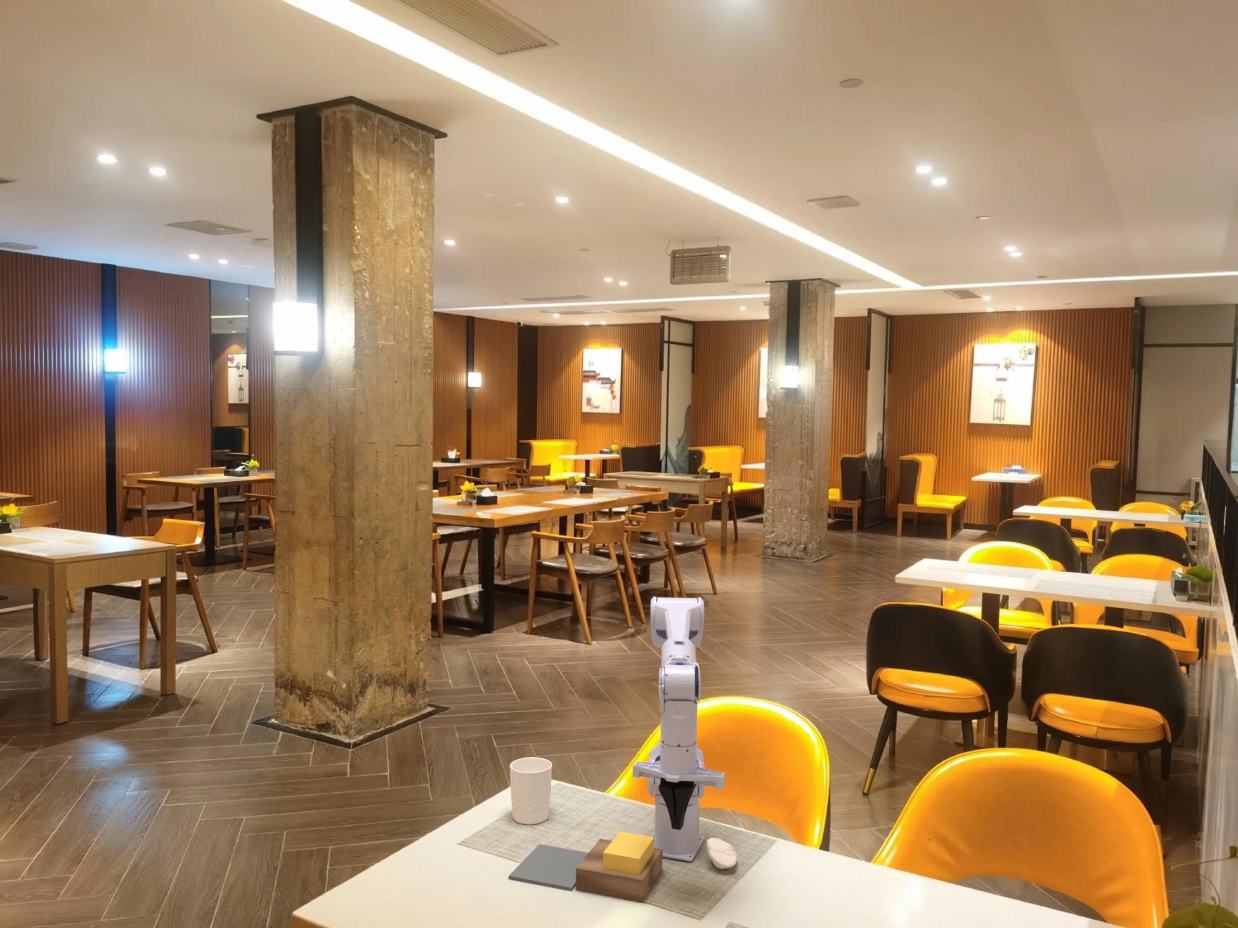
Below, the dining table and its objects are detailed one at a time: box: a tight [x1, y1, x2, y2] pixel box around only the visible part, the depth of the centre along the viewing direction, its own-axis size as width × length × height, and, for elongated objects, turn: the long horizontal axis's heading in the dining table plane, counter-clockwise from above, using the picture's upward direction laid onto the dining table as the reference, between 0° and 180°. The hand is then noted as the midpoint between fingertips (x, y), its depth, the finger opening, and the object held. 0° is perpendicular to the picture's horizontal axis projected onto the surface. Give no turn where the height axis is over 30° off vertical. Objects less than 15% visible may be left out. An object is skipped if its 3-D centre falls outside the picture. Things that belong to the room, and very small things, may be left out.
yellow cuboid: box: [603, 831, 655, 875], centre depth 144 cm, size 8×6×2 cm
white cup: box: [509, 756, 553, 825], centre depth 168 cm, size 8×8×10 cm
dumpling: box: [705, 837, 739, 870], centre depth 150 cm, size 7×5×4 cm
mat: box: [508, 843, 589, 892], centre depth 149 cm, size 12×11×1 cm
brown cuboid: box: [575, 838, 663, 903], centre depth 145 cm, size 11×11×4 cm
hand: (677, 826), depth 141 cm, fingers closed
